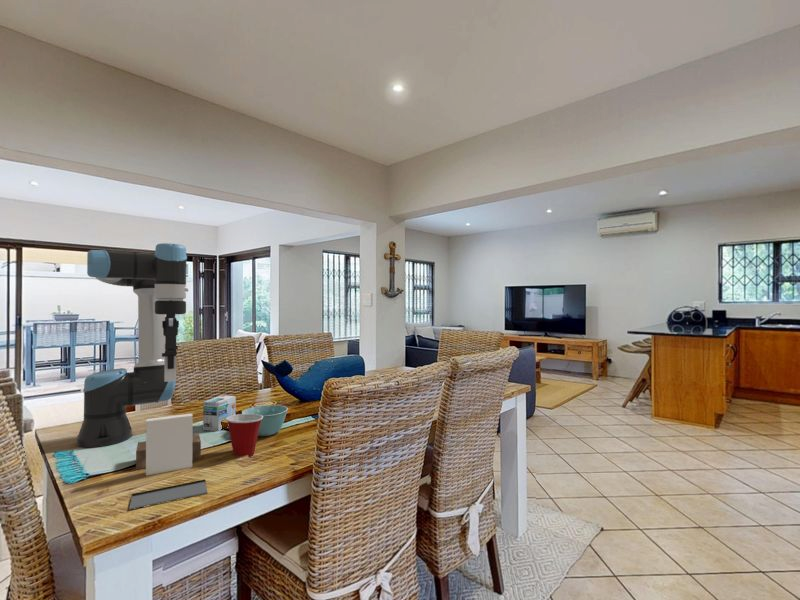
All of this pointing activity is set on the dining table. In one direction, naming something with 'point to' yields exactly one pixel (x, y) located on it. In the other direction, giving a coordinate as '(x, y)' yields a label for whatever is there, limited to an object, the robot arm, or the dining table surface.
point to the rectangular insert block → (169, 443)
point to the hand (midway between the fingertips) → (170, 376)
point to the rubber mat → (168, 494)
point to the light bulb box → (217, 411)
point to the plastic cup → (244, 433)
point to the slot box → (142, 451)
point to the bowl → (269, 418)
